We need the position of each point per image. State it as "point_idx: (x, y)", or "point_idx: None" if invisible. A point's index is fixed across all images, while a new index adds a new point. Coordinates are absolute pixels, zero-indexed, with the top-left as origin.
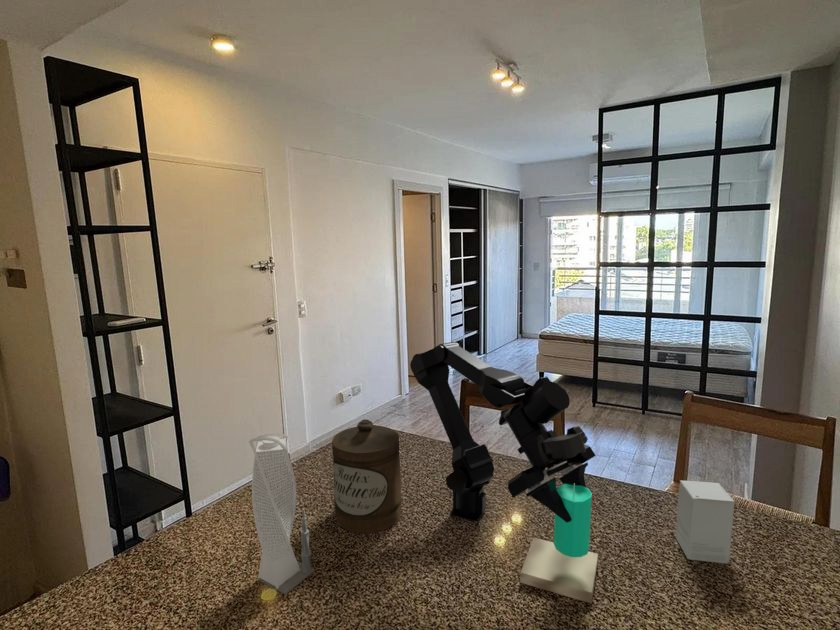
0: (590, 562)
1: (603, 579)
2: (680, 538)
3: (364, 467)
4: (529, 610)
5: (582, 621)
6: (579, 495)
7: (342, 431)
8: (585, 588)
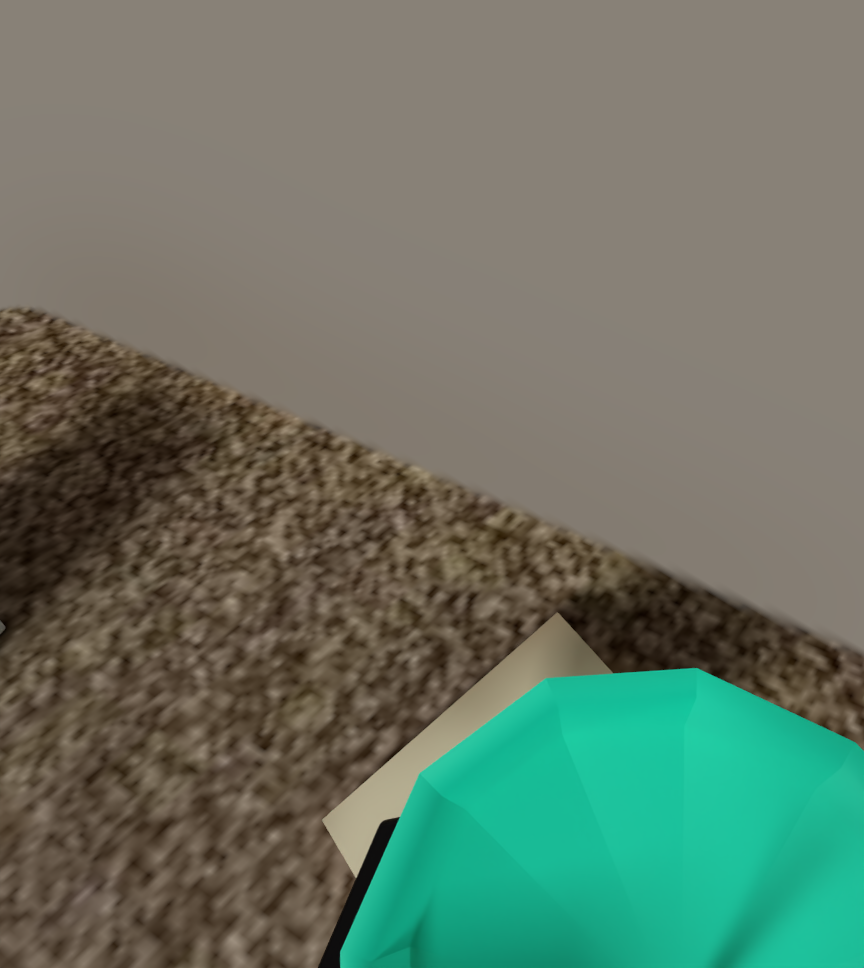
0: (411, 782)
1: (400, 707)
2: None
3: None
4: (841, 713)
5: (646, 567)
6: (599, 919)
7: None
8: (567, 645)
